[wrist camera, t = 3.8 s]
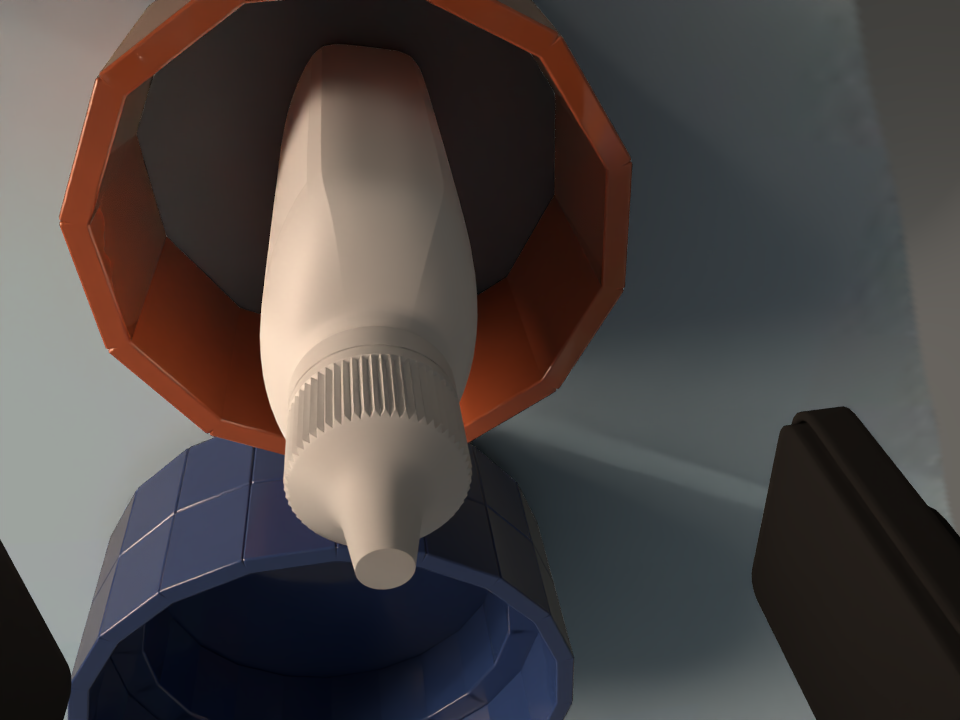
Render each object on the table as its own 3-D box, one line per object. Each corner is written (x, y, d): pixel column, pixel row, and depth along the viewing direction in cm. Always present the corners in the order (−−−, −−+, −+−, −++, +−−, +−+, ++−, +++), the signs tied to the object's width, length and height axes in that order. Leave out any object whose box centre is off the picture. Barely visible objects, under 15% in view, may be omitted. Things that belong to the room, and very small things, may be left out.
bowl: (49, 431, 22) (-19, 597, 18) (532, 370, 24) (578, 512, 19) (176, 709, 30) (149, 874, 26) (536, 653, 31) (570, 802, 27)
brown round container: (51, -63, 16) (-30, -10, 12) (579, -103, 17) (647, -64, 13) (186, 370, 22) (158, 491, 18) (571, 324, 23) (617, 430, 19)
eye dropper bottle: (210, 210, 20) (92, 653, 10) (342, 0, 17) (359, 305, 8) (369, 298, 21) (402, 740, 12) (506, 120, 19) (683, 483, 10)
